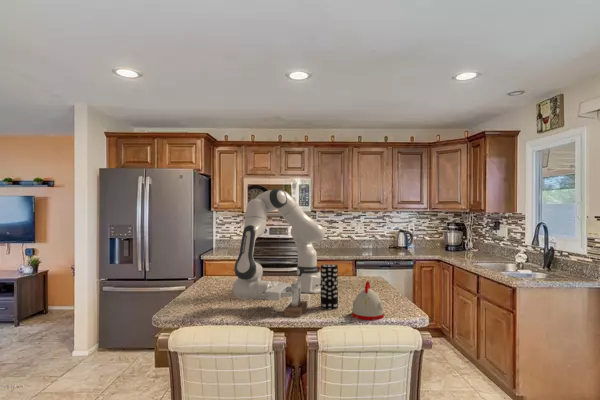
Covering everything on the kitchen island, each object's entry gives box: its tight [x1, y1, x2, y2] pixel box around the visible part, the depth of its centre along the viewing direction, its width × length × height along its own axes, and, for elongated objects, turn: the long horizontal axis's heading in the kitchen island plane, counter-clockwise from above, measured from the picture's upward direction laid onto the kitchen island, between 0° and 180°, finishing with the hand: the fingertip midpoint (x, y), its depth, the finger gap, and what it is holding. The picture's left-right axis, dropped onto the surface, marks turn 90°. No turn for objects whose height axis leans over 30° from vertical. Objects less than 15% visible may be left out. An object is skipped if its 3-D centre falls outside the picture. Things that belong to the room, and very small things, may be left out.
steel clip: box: [290, 281, 302, 308], centre depth 167 cm, size 6×3×13 cm, turn 168°
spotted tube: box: [320, 263, 339, 310], centre depth 174 cm, size 8×8×20 cm
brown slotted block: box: [283, 300, 308, 318], centre depth 167 cm, size 16×7×3 cm, turn 167°
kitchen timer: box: [351, 281, 385, 321], centre depth 161 cm, size 14×14×15 cm
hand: (294, 291), depth 167 cm, fingers open, 8 cm apart
